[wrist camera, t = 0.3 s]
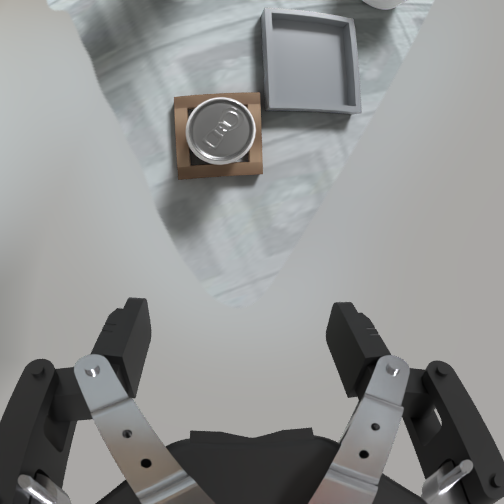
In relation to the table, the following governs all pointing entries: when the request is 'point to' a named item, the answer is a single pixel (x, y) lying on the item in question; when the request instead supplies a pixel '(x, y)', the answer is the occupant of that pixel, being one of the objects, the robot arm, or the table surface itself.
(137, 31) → the table surface
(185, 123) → the walnut collar
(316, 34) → the grey shallow rectangular tray
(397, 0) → the mug
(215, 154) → the can
